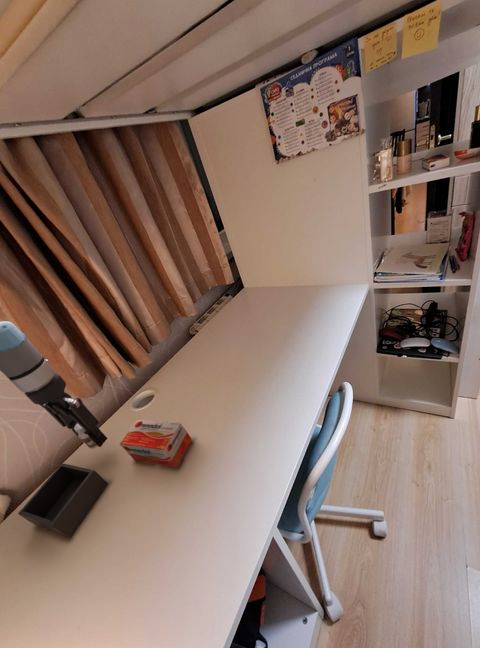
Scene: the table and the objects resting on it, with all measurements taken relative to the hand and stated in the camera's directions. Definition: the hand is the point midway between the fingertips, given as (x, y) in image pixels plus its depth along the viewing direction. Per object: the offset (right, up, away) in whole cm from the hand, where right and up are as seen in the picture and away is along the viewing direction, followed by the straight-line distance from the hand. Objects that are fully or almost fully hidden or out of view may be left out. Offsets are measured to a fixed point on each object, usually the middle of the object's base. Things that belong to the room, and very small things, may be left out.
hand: (96, 441), depth 80 cm
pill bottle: (0, 0, 0) cm, 1 cm away
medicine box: (+19, -2, -2) cm, 20 cm away
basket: (-1, -13, -8) cm, 15 cm away
